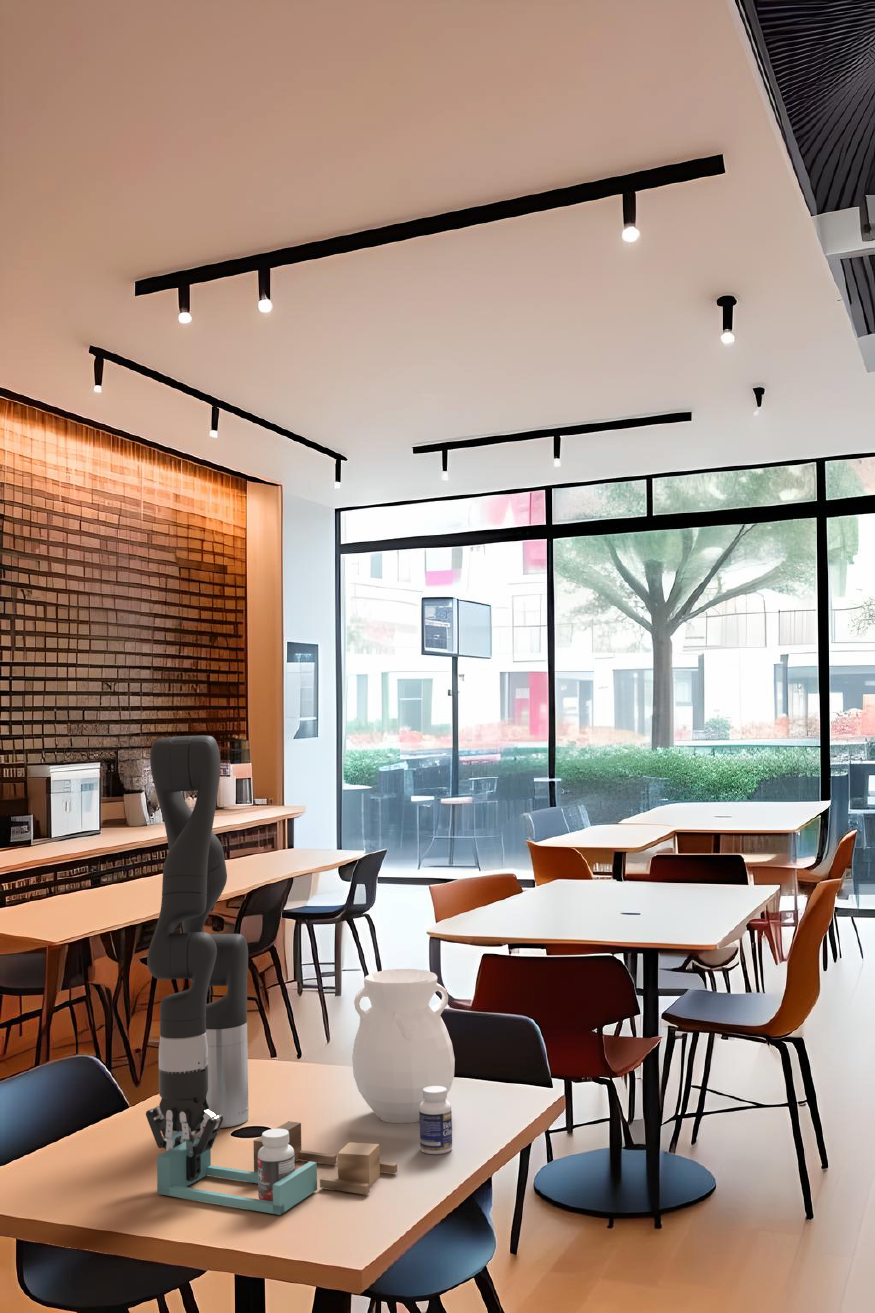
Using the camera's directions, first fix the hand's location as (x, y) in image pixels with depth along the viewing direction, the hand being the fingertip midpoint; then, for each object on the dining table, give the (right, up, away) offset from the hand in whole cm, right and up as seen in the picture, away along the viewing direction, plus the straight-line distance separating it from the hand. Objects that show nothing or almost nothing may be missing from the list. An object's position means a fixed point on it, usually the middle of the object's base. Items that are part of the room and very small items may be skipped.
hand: (184, 1178), depth 175 cm
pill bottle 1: (+15, 0, -7) cm, 17 cm away
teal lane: (+9, 0, -4) cm, 10 cm away
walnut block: (+27, 0, -1) cm, 27 cm away
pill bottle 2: (+39, -1, +12) cm, 41 cm away
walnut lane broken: (+22, 0, +2) cm, 22 cm away
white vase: (+33, -3, +31) cm, 45 cm away
